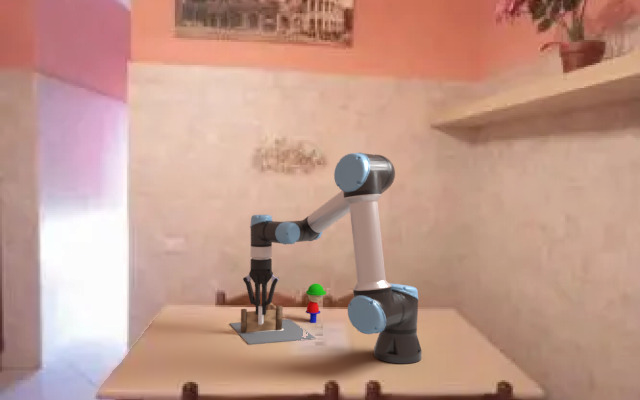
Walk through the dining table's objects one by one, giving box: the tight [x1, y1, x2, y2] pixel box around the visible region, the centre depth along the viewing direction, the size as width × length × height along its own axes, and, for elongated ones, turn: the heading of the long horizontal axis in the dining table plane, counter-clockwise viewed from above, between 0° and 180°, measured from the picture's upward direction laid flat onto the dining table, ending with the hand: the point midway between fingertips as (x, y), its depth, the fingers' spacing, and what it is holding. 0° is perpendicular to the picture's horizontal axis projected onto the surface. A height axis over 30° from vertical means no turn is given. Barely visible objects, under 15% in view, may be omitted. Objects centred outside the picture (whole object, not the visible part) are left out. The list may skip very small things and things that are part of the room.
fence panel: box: [240, 308, 276, 333], centre depth 206 cm, size 13×2×8 cm, turn 115°
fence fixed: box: [266, 298, 284, 330], centre depth 216 cm, size 16×2×9 cm, turn 22°
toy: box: [305, 283, 327, 324], centre depth 225 cm, size 8×8×15 cm
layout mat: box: [229, 318, 316, 346], centre depth 209 cm, size 28×24×1 cm
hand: (260, 323), depth 204 cm, fingers closed
